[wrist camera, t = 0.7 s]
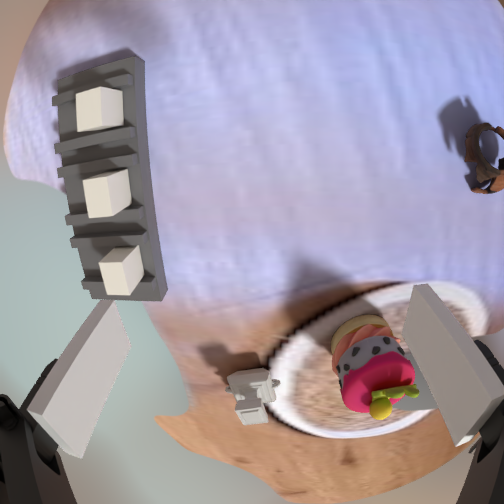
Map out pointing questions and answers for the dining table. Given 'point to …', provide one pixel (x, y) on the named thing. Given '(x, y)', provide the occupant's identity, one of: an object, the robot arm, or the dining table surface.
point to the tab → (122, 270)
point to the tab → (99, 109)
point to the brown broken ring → (483, 168)
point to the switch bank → (104, 160)
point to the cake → (371, 366)
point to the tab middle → (107, 193)
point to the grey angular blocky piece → (252, 394)
